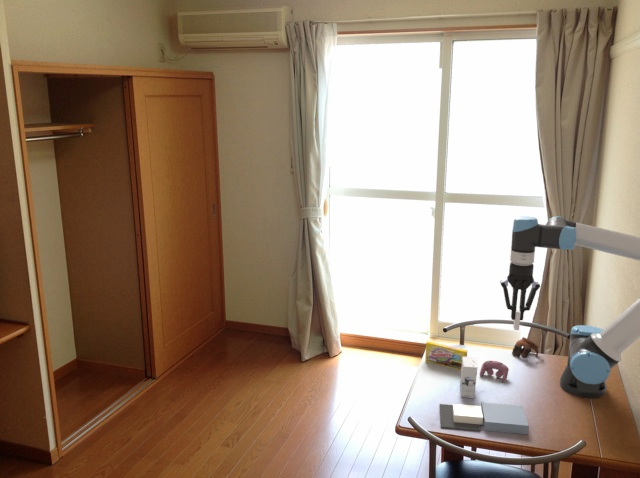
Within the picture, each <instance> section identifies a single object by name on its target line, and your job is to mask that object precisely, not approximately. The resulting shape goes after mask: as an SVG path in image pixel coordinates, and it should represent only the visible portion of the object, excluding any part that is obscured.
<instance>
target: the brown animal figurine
mask: <svg viewBox="0 0 640 478" xmlns="http://www.w3.org/2000/svg"><path fill="white" fill-rule="evenodd" d="M532 350H534V352H535V357H538V355H539V345H538V344H537V343H535V342H534V341H532V340H530V339H528V338H526V337H524V336H523V337H522V338H521V339H519V340H517V341H516V343H515V344H514V346H513V348H512V351H511V354H512V355H513V356H514V357H516V358H517V359H520V357H522V359H527V358H528V357H529V354H530V353H531V351H532Z"/></svg>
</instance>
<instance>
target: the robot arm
mask: <svg viewBox="0 0 640 478" xmlns="http://www.w3.org/2000/svg"><path fill="white" fill-rule="evenodd" d="M538 221H539V220H538V218H537V217H534V216H528V215H523V216H522V215H520V216H516V217H515V218H514V219H513V225H512V232H511V247H510V257H509V258H510V259H509V260H510V263H509V269H508V272H509V273H508V275H507V278H506V279H504V280H500V282H499V283H500V285H501V287H502V289H503V294H504V295H503V296H504V301H505V306H506V308H507V310H509V311H510V313H511V314H510V318H511V321H513V325H512V327H513V330H514V331H519V330H520V323H521V321H524V313H525V312H526V311H530V310H531V308H532V304H533V302H534V299H535V296H536V294H537V292H538V290H539V289H540V288H541V284H540V283H539V282H538V281H535V280H534V275H533V274H534V263H535V251H536V248H543V249H545V248H546V249H553V250H562V251H565V250H566V251H567V250H568V251H569V250H570V251H571V250H574V249H575V247H576V246H579V247H583V248H587V249H591V250H596V251H599V252H602V253H607V254H611V255H614V256H615V255H616V256H619V257H623V258H627V259H631V260H635V261H639V262H640V236H636V235H632V234H628V233H623V232H620V231H614V230H610V229H606V228H602V227H597V226H595V225H594V226H593V225H588V224H585V223H581V222H576V221H572V220H568V219H566V218H564V217H563V216H559V215H558V216H557V215H556V216H553V217H550V218H549V219H548V221H547V222H546V223H545V224H540V223H539V222H538ZM509 285H510V286H511V288H512V296H511V298H512V299H511V301H510V294H509V290H508V286H509ZM530 286H531V289H530V291H529V294H528V297H527V300H526V294H527V289H528V288H529V287H530ZM519 290H520V297H519V308H518V309H517V305H518V294H519ZM569 334H570V337H569V347H568V356H567V365H566V367H565V368H564V370H563V372H562V374H561V376H560V380H559V386H560V387H561V389H562V390H564V391H565V392H566V393H569V394H571V395H574V396H576V397H579V398H585V399H599V398H602V397H604V396H605V395H606V393H607V383H606V381H607V379H608V378H609V377H610V375H611V369H613V368H614V367H615V366H616V365H617V364H619V362H621V361H622V353H624V351H626V350H627V349H628V348H629V347H630V346H632V345H633V344H634V342H636V341H637V340H638V339H639V338H640V297H638V298H637V299H636V300H635V301H634V302H632V304H630V306H629V307H627V308H626V309H625V310H624V311H622V313H621V314H619V316H618V317H616V318H615V319H614V320H613V321H612V322H611V323H610V324H609V325H607V326H606V327H605V328H604V329H603V328H600V327H597V326H592V325H583V324H582V325H581V324H579V325H578V324H577V325H575V326H572V327H571V330H570V333H569Z"/></svg>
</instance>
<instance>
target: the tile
mask: <svg viewBox="0 0 640 478" xmlns="http://www.w3.org/2000/svg"><path fill="white" fill-rule="evenodd" d="M452 405H453V420H454V422H459V423H470V424H479V425H483V414H482V409H481V405H470V404H460V403H459V404H458V403H452ZM483 426H484V425H483Z"/></svg>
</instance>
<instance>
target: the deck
mask: <svg viewBox="0 0 640 478" xmlns="http://www.w3.org/2000/svg"><path fill="white" fill-rule="evenodd" d="M480 406H481V409H482V414H483V430H484V431H488V432H500V433H501V432H502V433H511V434H520V435H529V423H528V419H527V417H526V413H525V410H524V408H523V405H517V404H516V405H515V404H506V403H495V402H494V403H493V402H485V401H482V402H481V403H480Z"/></svg>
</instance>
